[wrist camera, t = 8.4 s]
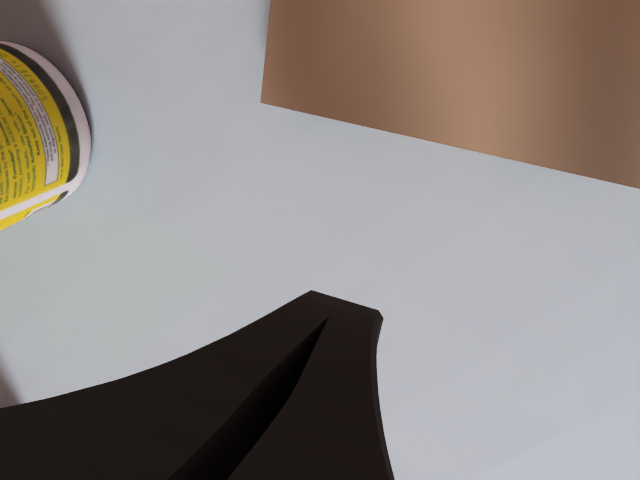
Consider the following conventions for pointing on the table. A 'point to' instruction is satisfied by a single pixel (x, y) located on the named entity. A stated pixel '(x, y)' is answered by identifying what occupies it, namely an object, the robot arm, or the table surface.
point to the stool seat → (470, 75)
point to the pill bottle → (37, 135)
